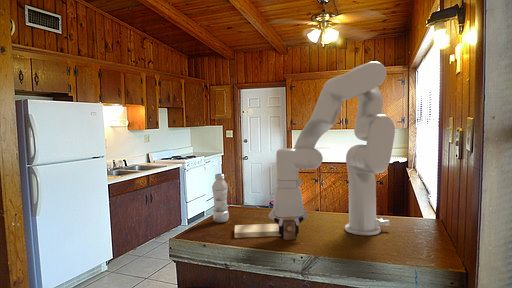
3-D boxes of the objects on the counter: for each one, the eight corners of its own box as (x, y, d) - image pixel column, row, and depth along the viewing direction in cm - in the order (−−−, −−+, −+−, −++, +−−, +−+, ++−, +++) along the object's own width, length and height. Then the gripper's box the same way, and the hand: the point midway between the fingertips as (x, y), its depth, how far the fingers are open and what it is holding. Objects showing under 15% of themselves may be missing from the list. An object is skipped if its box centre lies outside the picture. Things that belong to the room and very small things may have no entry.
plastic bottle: (232, 221, 137) (231, 173, 136) (220, 225, 132) (218, 175, 131) (222, 218, 141) (220, 172, 140) (209, 222, 136) (208, 174, 135)
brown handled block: (290, 228, 125) (289, 212, 125) (295, 240, 112) (295, 222, 112) (279, 228, 125) (279, 213, 125) (284, 240, 112) (283, 223, 112)
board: (292, 227, 126) (292, 223, 126) (296, 235, 117) (296, 230, 117) (235, 229, 125) (234, 225, 125) (234, 237, 116) (234, 232, 116)
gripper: (309, 181, 118) (310, 231, 119) (263, 183, 117) (264, 233, 118) (314, 185, 111) (314, 238, 111) (264, 186, 110) (265, 240, 111)
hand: (288, 235), depth 115 cm, fingers closed on brown handled block, 4 cm apart
